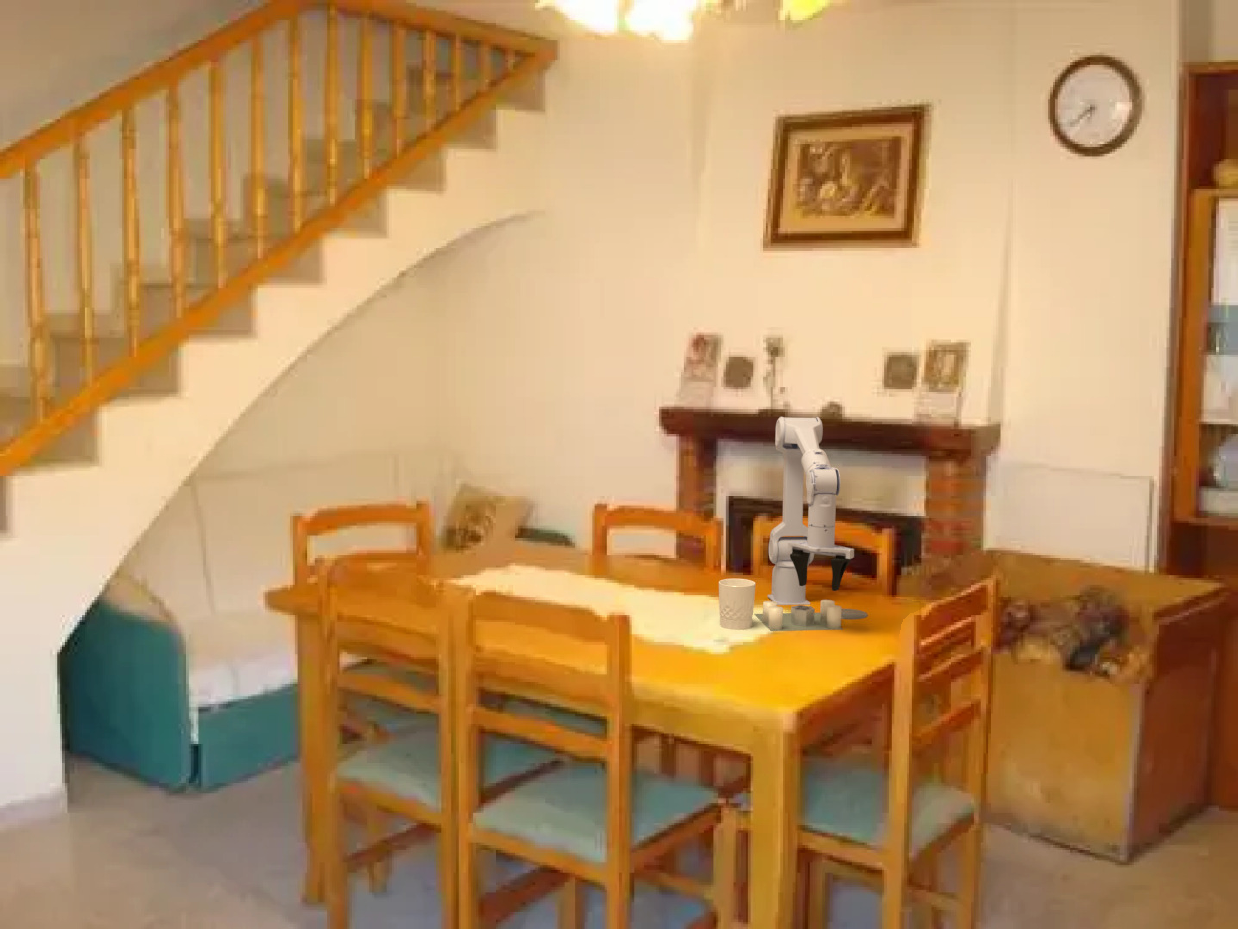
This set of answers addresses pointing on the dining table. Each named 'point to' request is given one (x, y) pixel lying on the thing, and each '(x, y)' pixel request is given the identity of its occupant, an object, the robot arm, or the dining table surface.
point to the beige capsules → (827, 614)
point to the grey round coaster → (852, 614)
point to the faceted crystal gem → (802, 615)
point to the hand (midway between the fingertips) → (819, 587)
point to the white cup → (736, 603)
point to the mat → (790, 627)
